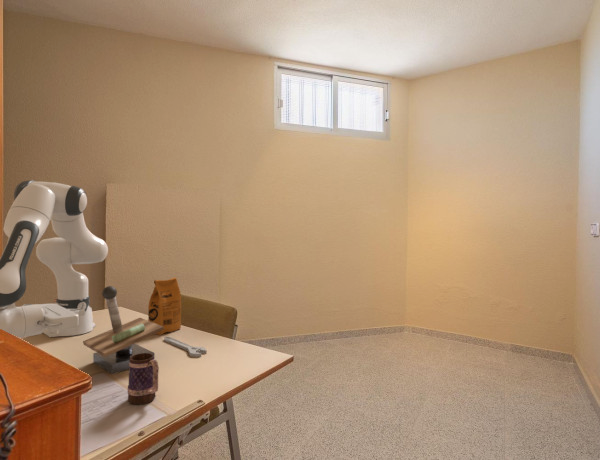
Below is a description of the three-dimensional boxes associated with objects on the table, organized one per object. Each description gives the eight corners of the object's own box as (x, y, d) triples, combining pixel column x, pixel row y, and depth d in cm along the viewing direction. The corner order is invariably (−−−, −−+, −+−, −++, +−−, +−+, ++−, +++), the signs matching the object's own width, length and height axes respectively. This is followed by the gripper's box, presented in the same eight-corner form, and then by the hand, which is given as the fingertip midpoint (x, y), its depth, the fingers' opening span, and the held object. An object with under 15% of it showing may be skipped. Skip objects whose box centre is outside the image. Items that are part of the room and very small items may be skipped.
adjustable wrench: (162, 341, 155) (162, 337, 155) (177, 338, 159) (177, 334, 159) (194, 359, 137) (194, 354, 137) (210, 354, 141) (210, 349, 141)
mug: (122, 399, 106) (122, 355, 105) (147, 390, 111) (147, 348, 111) (142, 412, 100) (142, 365, 99) (167, 402, 105) (167, 358, 105)
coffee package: (144, 331, 166) (144, 279, 165) (170, 324, 176) (170, 275, 175) (157, 336, 160) (158, 282, 159) (184, 329, 170) (184, 278, 169)
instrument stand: (93, 362, 131) (93, 340, 131) (134, 351, 142) (134, 330, 142) (112, 374, 122) (112, 350, 122) (154, 361, 133) (154, 339, 132)
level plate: (83, 344, 130) (71, 295, 126) (140, 320, 144) (131, 275, 141) (104, 357, 119) (92, 303, 116) (164, 329, 134) (154, 281, 130)
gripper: (44, 316, 108) (97, 307, 118) (22, 303, 121) (71, 296, 132) (44, 338, 108) (97, 328, 119) (22, 323, 122) (71, 315, 132)
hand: (83, 311), depth 125 cm, fingers closed
